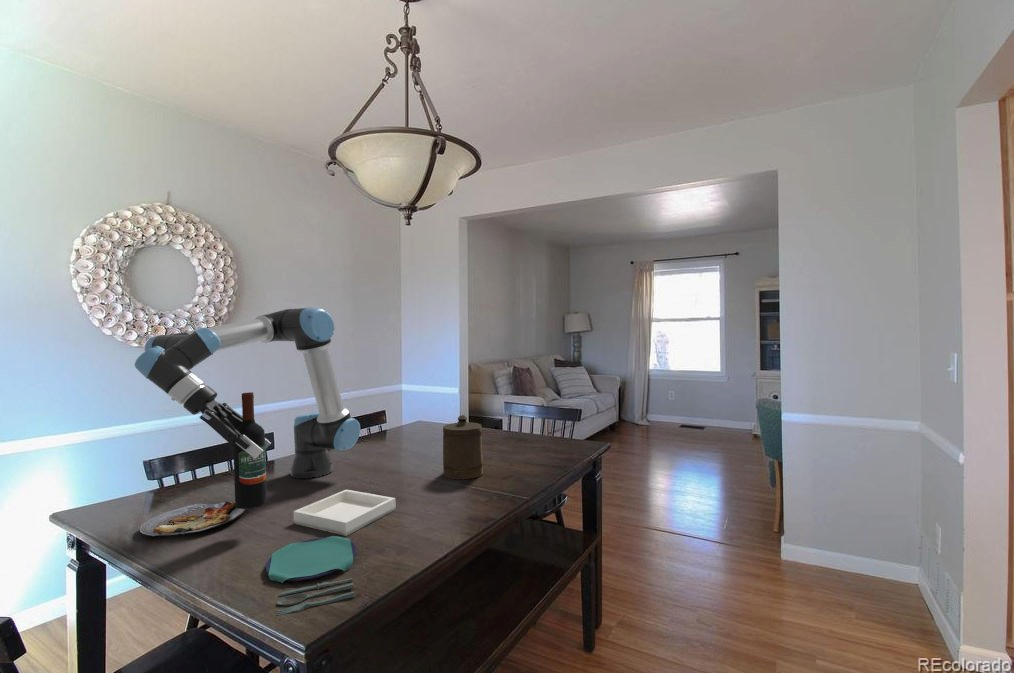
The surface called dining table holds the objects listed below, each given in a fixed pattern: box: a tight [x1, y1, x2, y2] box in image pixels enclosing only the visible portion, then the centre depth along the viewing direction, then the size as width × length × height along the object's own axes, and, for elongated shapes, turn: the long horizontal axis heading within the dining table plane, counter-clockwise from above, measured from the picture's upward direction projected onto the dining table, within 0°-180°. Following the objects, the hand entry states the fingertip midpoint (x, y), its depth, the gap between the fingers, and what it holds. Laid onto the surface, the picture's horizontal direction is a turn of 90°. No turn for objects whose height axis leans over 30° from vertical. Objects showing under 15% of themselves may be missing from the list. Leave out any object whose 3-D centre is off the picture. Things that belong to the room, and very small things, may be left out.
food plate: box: [139, 500, 247, 537], centre depth 136 cm, size 25×23×4 cm
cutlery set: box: [264, 535, 358, 617], centre depth 106 cm, size 20×30×2 cm, turn 22°
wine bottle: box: [232, 391, 268, 510], centre depth 127 cm, size 8×8×30 cm
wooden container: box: [442, 414, 484, 480], centre depth 177 cm, size 15×15×22 cm
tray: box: [292, 489, 397, 537], centre depth 138 cm, size 20×20×4 cm
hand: (263, 450), depth 128 cm, fingers closed on wine bottle, 7 cm apart
